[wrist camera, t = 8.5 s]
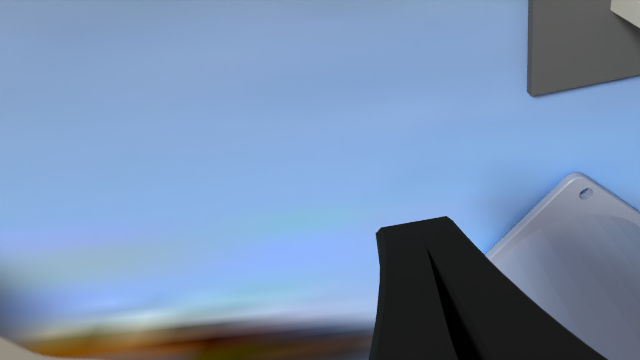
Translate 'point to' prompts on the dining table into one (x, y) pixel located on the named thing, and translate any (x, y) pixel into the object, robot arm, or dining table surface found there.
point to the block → (627, 10)
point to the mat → (578, 45)
